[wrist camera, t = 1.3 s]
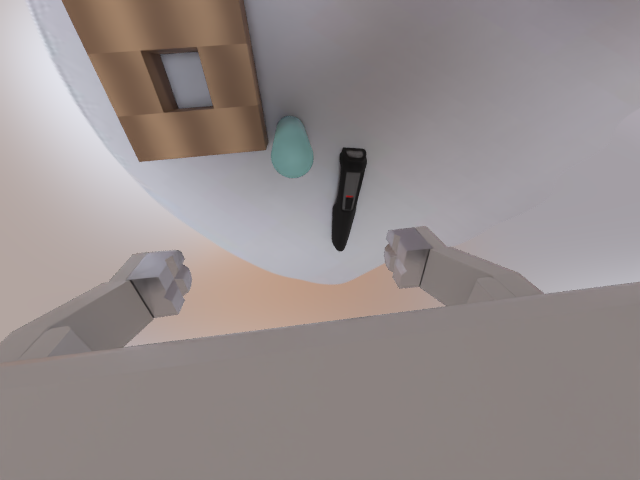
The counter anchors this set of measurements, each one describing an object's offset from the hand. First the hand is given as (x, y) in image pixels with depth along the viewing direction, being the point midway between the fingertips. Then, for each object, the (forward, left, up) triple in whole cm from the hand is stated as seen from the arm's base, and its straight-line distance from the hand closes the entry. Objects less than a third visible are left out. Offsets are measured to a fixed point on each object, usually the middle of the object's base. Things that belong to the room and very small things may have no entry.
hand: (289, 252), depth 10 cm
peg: (0, 0, -25) cm, 25 cm away
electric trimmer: (-8, +10, -26) cm, 29 cm away
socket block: (+10, -6, -25) cm, 28 cm away
